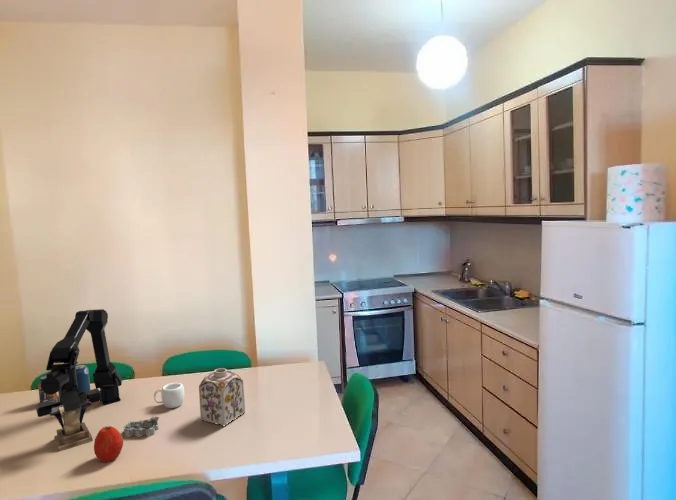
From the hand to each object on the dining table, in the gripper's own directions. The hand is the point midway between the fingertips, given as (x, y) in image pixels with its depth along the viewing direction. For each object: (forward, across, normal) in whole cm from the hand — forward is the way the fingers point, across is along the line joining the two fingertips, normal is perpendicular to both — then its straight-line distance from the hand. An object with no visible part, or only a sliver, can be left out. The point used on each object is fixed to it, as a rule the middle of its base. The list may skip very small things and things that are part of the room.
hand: (72, 426), depth 157 cm
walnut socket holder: (+5, 0, 0) cm, 5 cm away
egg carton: (+6, +20, -10) cm, 23 cm away
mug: (+5, +34, +5) cm, 35 cm away
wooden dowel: (+3, 0, 0) cm, 3 cm away
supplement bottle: (+5, -3, +40) cm, 40 cm away
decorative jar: (+5, +46, -19) cm, 50 cm away
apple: (+5, +7, -21) cm, 23 cm away
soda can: (+5, +9, +42) cm, 43 cm away
